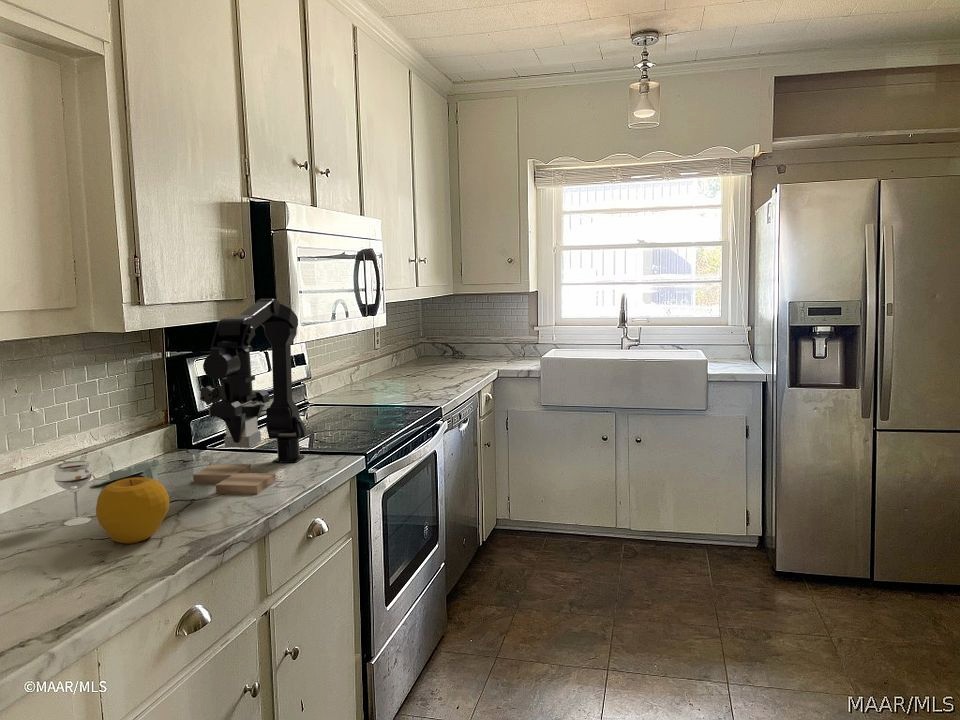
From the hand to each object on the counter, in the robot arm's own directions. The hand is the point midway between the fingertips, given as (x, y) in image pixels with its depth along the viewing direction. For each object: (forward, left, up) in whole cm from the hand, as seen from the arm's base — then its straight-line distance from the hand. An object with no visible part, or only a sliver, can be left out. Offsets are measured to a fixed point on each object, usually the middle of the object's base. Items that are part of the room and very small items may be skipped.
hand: (243, 439), depth 174 cm
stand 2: (0, 0, -12) cm, 12 cm away
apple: (+33, -7, -12) cm, 36 cm away
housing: (0, 0, -1) cm, 1 cm away
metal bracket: (-4, -31, -12) cm, 34 cm away
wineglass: (+25, -25, -12) cm, 37 cm away
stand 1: (-8, -10, -12) cm, 17 cm away
